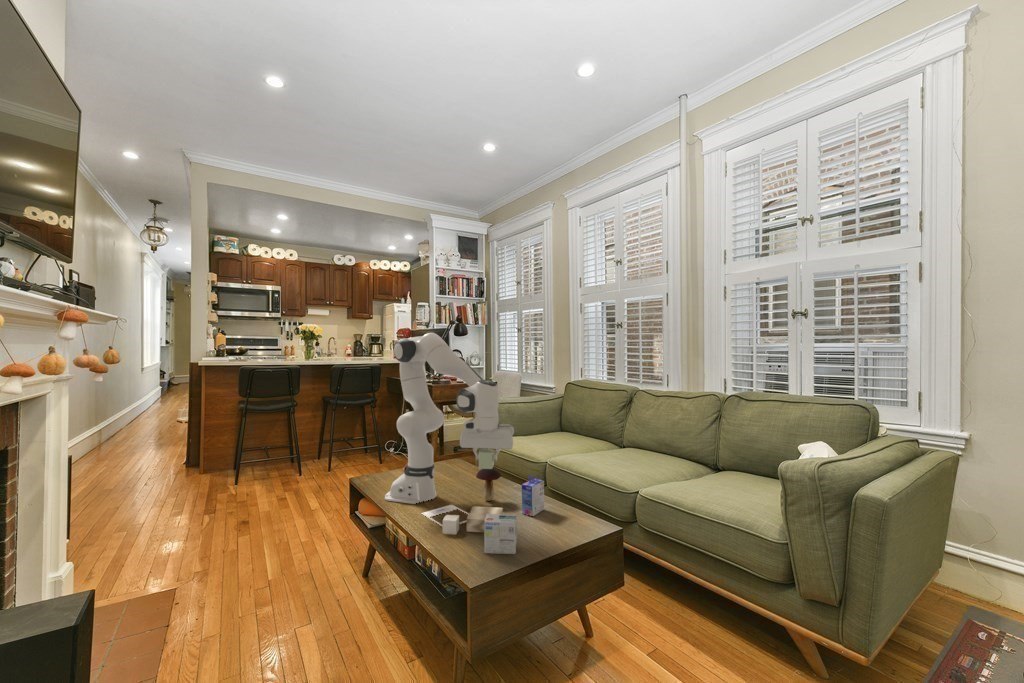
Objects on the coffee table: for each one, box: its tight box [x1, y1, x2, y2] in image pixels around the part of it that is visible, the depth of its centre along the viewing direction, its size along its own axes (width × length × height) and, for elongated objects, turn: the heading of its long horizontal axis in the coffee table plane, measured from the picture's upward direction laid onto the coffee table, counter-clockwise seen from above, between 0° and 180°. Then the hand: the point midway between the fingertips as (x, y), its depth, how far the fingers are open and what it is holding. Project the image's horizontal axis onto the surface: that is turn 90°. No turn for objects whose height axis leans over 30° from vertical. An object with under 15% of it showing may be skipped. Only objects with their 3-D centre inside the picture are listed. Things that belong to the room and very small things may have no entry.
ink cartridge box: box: [521, 474, 545, 517], centre depth 178 cm, size 10×6×14 cm, turn 147°
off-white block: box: [442, 514, 460, 535], centre depth 159 cm, size 5×5×5 cm
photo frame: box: [420, 504, 470, 528], centre depth 172 cm, size 15×1×18 cm
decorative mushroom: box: [475, 467, 502, 502], centre depth 190 cm, size 11×11×15 cm
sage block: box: [478, 448, 495, 470], centre depth 164 cm, size 5×5×6 cm
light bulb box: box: [483, 513, 518, 555], centre depth 145 cm, size 11×7×11 cm, turn 88°
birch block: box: [466, 505, 504, 533], centre depth 164 cm, size 12×12×5 cm
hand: (486, 459), depth 164 cm, fingers closed on sage block, 5 cm apart
